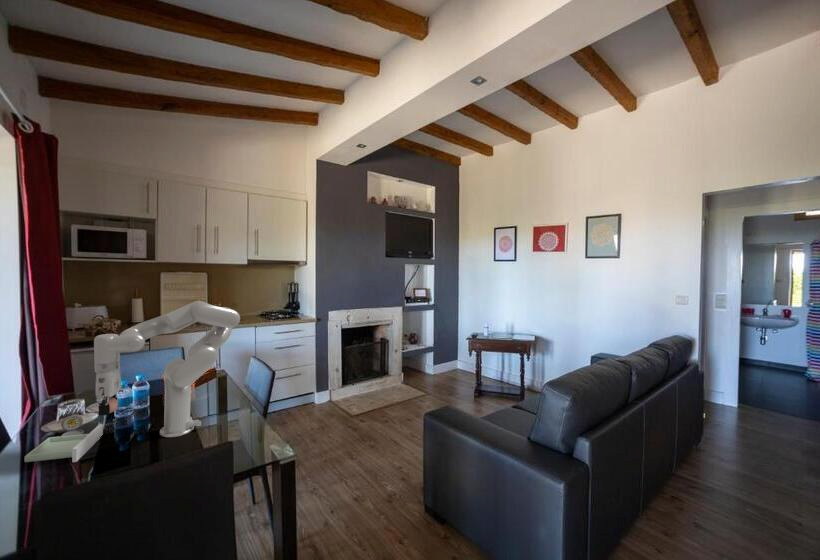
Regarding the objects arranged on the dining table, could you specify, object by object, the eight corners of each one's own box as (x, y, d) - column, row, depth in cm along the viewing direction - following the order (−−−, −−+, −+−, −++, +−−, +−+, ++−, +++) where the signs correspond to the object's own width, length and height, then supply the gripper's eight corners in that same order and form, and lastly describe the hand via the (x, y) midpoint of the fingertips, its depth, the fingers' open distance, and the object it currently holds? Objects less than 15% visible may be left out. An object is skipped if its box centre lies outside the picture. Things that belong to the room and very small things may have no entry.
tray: (92, 438, 146) (92, 433, 146) (73, 457, 132) (73, 451, 132) (48, 442, 141) (48, 437, 141) (24, 462, 128) (24, 456, 128)
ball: (120, 408, 143) (120, 394, 142) (114, 415, 137) (113, 400, 136) (102, 410, 140) (102, 395, 140) (95, 417, 135) (94, 401, 134)
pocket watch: (69, 440, 143) (69, 416, 143) (53, 437, 145) (53, 413, 144) (91, 431, 151) (91, 408, 151) (76, 428, 153) (76, 405, 152)
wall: (102, 435, 148) (102, 424, 148) (76, 461, 130) (76, 448, 129) (99, 436, 148) (99, 424, 148) (72, 462, 129) (72, 449, 129)
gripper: (109, 372, 131) (109, 419, 132) (128, 359, 147) (128, 401, 148) (83, 374, 128) (84, 422, 129) (106, 360, 144) (106, 403, 145)
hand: (108, 410), depth 139 cm, fingers closed on ball, 5 cm apart
